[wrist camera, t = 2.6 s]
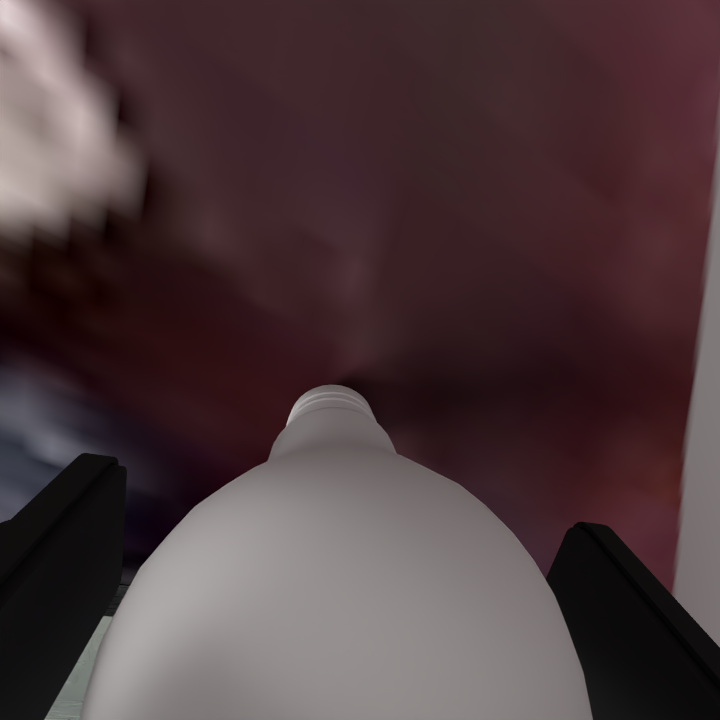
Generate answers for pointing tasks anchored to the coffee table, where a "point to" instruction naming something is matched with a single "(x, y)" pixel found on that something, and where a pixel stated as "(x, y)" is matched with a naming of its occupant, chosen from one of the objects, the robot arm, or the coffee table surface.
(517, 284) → the coffee table surface
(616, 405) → the coffee table surface
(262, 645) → the lightbulb
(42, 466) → the coffee table surface
